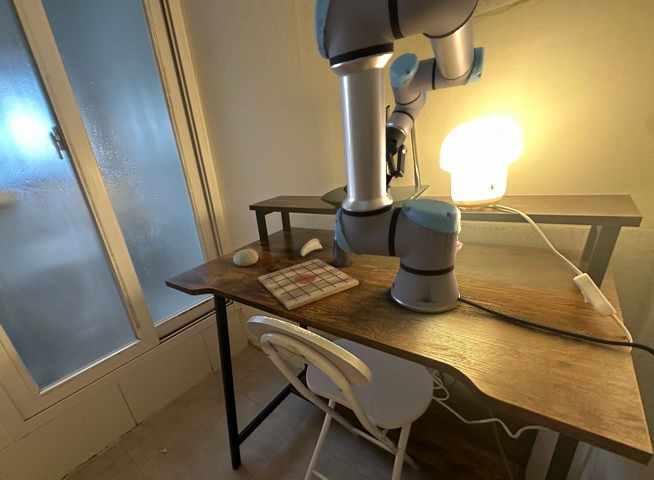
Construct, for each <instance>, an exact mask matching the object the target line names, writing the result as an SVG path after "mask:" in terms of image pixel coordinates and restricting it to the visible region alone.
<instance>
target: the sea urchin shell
mask: <svg viewBox="0 0 654 480" xmlns="http://www.w3.org/2000/svg"><path fill="white" fill-rule="evenodd" d="M258 260H259V254H258V252H257V251H256V250H255V249H254V248H243V249H241V250H239V251H237V252H236V253H235V254H234V255H233V258H232V262H233V263H234V265H236V266H238V267H245V268H246V267H249V266H252V265H254V264H256V263H257V262H258Z"/></svg>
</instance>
